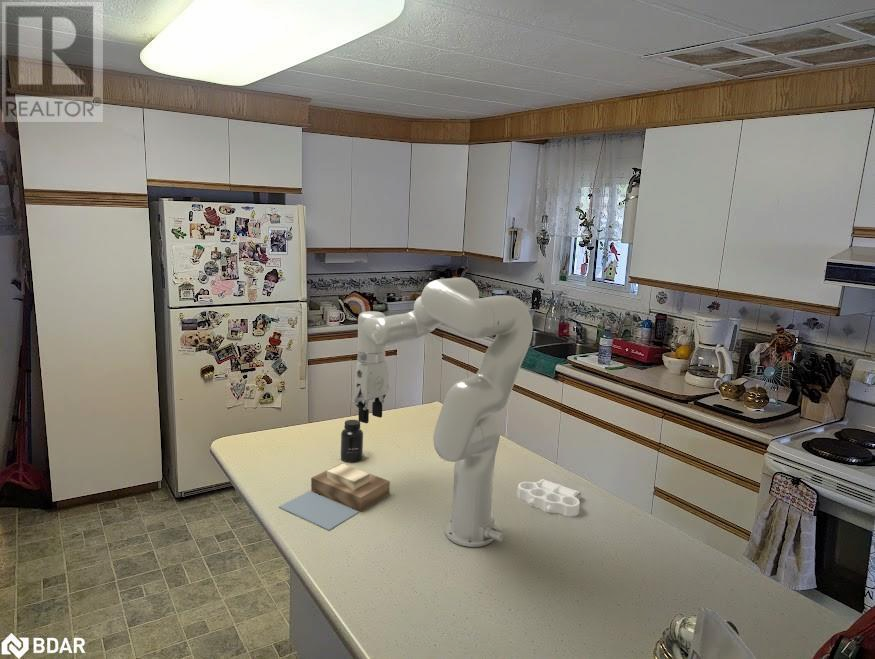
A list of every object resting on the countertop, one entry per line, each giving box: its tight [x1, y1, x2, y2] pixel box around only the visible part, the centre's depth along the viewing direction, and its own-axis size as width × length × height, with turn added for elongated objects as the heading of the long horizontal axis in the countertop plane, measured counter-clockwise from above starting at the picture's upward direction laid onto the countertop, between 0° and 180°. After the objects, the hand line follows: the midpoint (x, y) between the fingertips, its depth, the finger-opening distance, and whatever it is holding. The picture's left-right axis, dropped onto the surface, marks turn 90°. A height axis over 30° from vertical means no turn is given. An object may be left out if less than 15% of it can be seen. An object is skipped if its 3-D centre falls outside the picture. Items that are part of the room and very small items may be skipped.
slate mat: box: [278, 490, 360, 532], centre depth 154 cm, size 18×11×1 cm, turn 56°
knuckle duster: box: [516, 478, 582, 517], centre depth 164 cm, size 3×18×15 cm
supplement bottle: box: [340, 419, 364, 463], centre depth 185 cm, size 7×7×12 cm
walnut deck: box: [310, 462, 391, 513], centre depth 164 cm, size 18×12×4 cm, turn 56°
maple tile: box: [327, 463, 370, 490], centre depth 162 cm, size 10×6×2 cm, turn 56°
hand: (370, 418), depth 166 cm, fingers open, 5 cm apart
